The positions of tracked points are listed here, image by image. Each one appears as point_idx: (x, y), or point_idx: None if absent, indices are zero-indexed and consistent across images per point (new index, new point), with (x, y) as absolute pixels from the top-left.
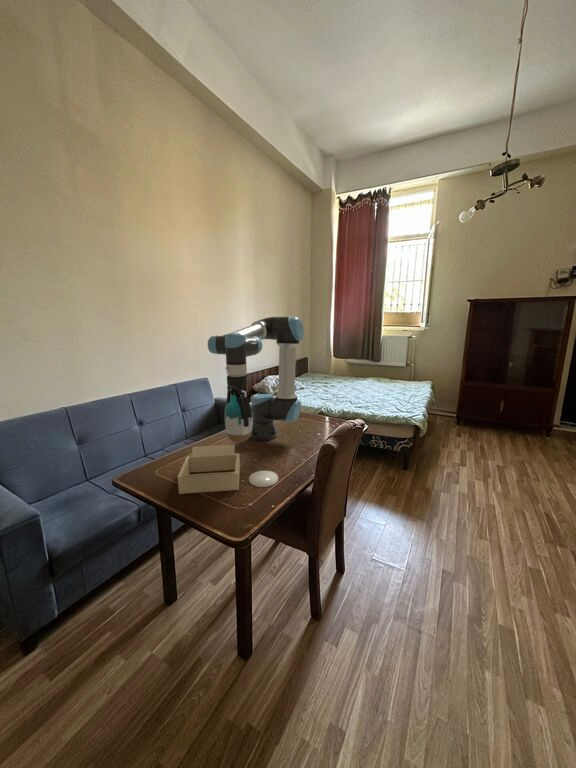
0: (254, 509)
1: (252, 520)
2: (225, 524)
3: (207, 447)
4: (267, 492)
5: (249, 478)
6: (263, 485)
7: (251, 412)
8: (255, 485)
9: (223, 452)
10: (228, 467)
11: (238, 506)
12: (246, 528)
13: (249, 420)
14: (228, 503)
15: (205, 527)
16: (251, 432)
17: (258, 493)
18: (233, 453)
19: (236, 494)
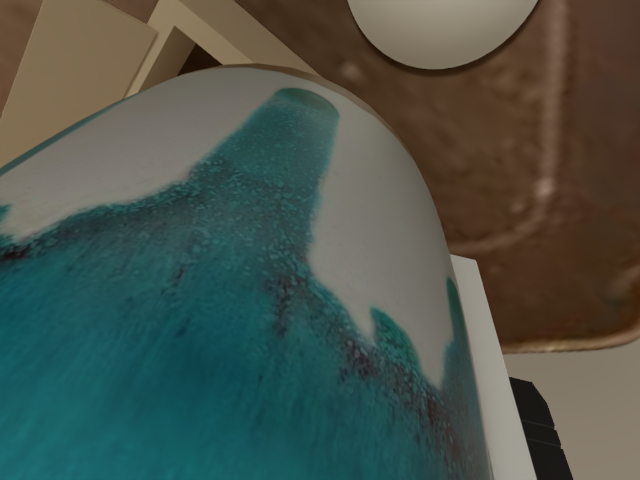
0: (587, 204)
1: (624, 254)
2: (538, 317)
3: (5, 158)
4: (564, 60)
5: (375, 40)
6: (506, 34)
7: (423, 388)
8: (458, 64)
9: (102, 90)
10: (182, 57)
11: (505, 231)
12: (628, 292)
13: (472, 360)
14: (451, 242)
15: None
16: (401, 140)
17: (522, 103)
18: (148, 35)
19: (428, 181)
